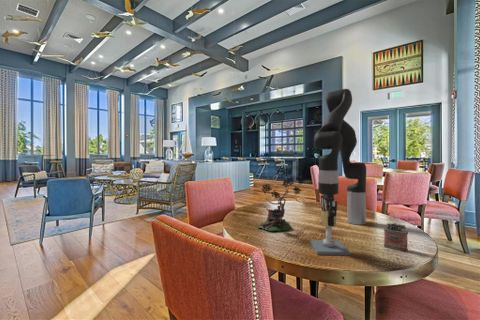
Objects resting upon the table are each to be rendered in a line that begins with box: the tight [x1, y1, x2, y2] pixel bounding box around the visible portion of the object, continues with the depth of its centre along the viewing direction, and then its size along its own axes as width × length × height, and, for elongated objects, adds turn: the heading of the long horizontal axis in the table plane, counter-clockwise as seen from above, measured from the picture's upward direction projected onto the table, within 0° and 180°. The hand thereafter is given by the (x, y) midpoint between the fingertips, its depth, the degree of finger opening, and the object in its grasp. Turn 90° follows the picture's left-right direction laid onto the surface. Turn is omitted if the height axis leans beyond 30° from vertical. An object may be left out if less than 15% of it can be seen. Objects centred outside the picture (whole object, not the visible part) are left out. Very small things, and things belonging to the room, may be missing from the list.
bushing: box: [320, 209, 337, 228], centre depth 93 cm, size 5×5×6 cm
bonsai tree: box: [257, 166, 306, 232], centre depth 125 cm, size 35×24×32 cm
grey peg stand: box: [309, 227, 351, 256], centre depth 93 cm, size 12×12×10 cm
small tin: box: [383, 222, 409, 253], centre depth 92 cm, size 8×3×10 cm, turn 45°
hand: (328, 223), depth 93 cm, fingers closed on bushing, 5 cm apart
